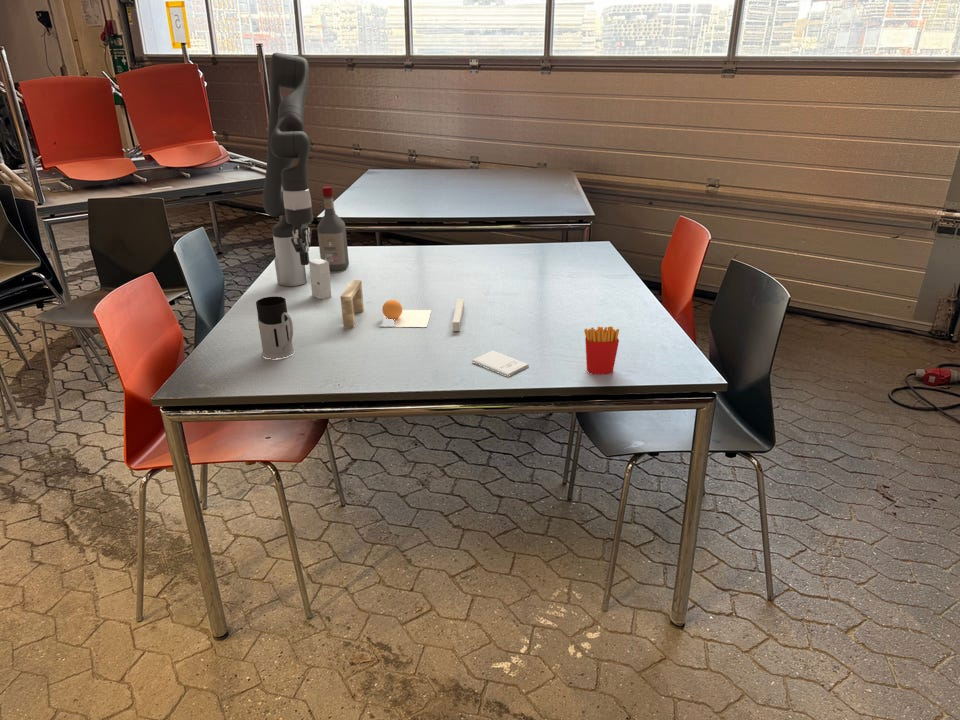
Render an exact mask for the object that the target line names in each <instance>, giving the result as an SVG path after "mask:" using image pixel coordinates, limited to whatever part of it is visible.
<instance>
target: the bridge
mask: <svg viewBox="0 0 960 720" xmlns="http://www.w3.org/2000/svg"><path fill="white" fill-rule="evenodd" d="M339 297H340V305H341V315H342V324H343V325H342V327H343V328H344V327H354V328H355V326H356V321H355V320H356V319H355V313H363V312H364V310H365V307H364V295H363V284H362V280H361V279H357V280H355V279H352V280H350V282H349V283H348V285H347V286H346V288H345V289H344V290H343V292H342V294H340V296H339ZM354 325H355V326H354Z"/></svg>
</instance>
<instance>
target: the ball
mask: <svg viewBox="0 0 960 720" xmlns="http://www.w3.org/2000/svg"><path fill="white" fill-rule="evenodd" d="M402 310H403V306H402V304H401V302H399V301H398V300H396V299H389V300H387V301H385V302H384V303H383V305H382V314H383V317H384V316H385V317H387V318H388V319H397V318H398V317H400V315H401V314H402Z"/></svg>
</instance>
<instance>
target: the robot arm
mask: <svg viewBox="0 0 960 720" xmlns="http://www.w3.org/2000/svg"><path fill="white" fill-rule="evenodd" d="M269 61H270V63H269V114H268V115H269V117H268V128H267V152H266V153H267V156H266V158H267V159H266V167H265V168H266V172H265V177H264V182H263V183H264V184H263V189H262V190H263V191H262V205H263V209H264V211H265V213H266V214H267V215H268V216H270V217H281V216H282V217H281V219H280V220H279V221H278V222H277V223H276V224H275V225H273V226H272V230H271V231H272V238H273V244H274V250H275V252H274V253H275V257H274V260H273V261H274V267H275V274H276V280H277V285H278V286H284V287H297V286H301V285H303V284H305V283H307V274H306V273H307V272H306V266H308V265H309V261H310V255H309V251H310V248H311V246H312V245H311V243H312V230H313V229H312V228H310V227H309V224H311V223H312V222H313V221H314V215H313V207H312V197H311V193H310V187H309V180H308V161H309V157H310V151H311V139H310V137H309V136H308V134H307V133H306V132H305V131H304V128H305V127H304V123H305V122H304V119H305V118H304V116H305V115H304V114H305V113H304V111H305V104H306V100H307V94H308V86H309V79H310V78H309V76H310V66H309V65H310V64H309V62H308V59H306V58H305V57H303V56H299V55H293V54H287V53H284V52H283V53H281V52H273V53H272V55H271V57H270V60H269ZM281 88H286V89H292V91H290V93H288V94H286V96H285V97H283V95H282V91H281V90H282V89H281ZM295 159H297V163H296V164H295V165H292V164H293V162H294V161H295Z"/></svg>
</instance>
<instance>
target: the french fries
mask: <svg viewBox="0 0 960 720" xmlns="http://www.w3.org/2000/svg"><path fill="white" fill-rule="evenodd" d="M619 332H620V329H619V328H616V329H614V326H608V327H603V326H597V329H596V328H594V327H590V328H585V329H584V335H585V337H584V338H585V340H584V341H585V359H586V371H588V372H589V373H588V372H587V373H588V374H590V373H592V374H591V375H610V373H611V374H612V372H614V369H615V364H616V357H617V353H618V349H619V348H618V347H619V343H620V340H619V338H618V337H619Z"/></svg>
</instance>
